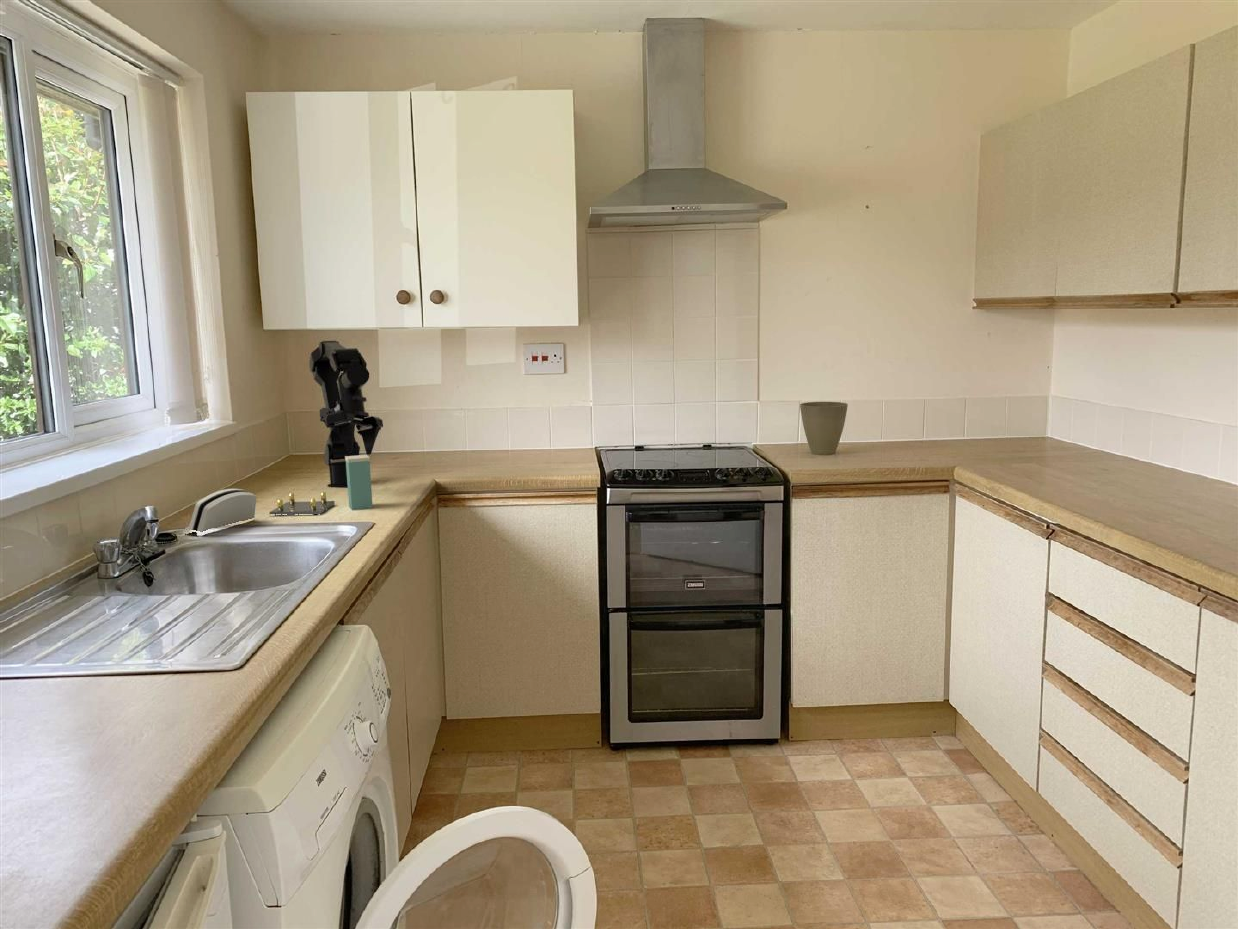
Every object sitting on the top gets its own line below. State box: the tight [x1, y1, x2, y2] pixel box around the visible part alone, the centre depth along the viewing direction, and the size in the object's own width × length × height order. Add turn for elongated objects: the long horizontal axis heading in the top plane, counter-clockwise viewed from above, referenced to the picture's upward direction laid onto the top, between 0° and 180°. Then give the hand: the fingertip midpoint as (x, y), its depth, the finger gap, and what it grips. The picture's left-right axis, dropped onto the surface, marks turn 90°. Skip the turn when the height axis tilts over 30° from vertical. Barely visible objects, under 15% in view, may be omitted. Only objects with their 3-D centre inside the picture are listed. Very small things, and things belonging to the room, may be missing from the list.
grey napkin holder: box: [184, 488, 257, 532], centre depth 210 cm, size 17×5×10 cm, turn 159°
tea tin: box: [344, 454, 374, 511], centre depth 229 cm, size 5×5×13 cm
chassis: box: [269, 492, 335, 515], centre depth 227 cm, size 12×12×4 cm
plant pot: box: [799, 401, 849, 456], centre depth 295 cm, size 15×15×16 cm
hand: (359, 453), depth 240 cm, fingers open, 9 cm apart
